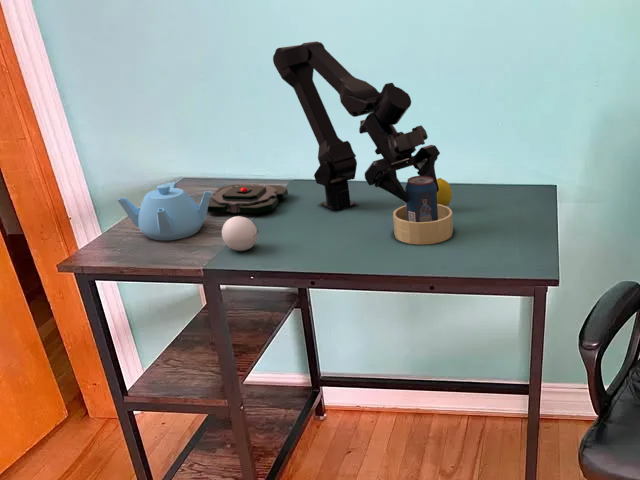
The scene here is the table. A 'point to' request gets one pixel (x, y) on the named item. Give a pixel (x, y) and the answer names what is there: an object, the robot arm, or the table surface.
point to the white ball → (239, 233)
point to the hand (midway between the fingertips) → (423, 196)
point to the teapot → (168, 213)
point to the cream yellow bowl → (423, 227)
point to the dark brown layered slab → (246, 198)
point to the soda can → (421, 199)
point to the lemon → (443, 192)
